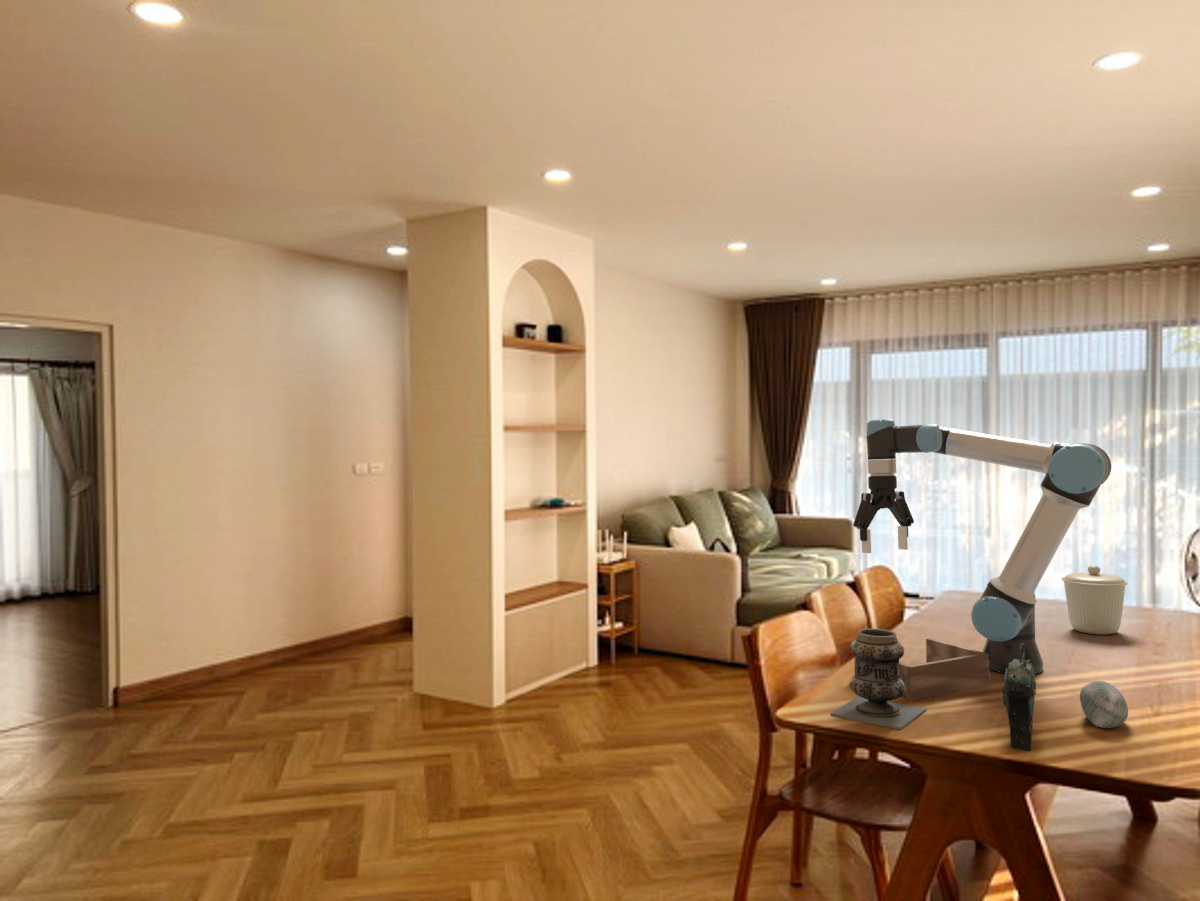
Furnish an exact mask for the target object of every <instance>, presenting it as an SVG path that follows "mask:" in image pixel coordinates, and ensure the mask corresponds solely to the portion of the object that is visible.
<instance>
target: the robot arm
mask: <svg viewBox="0 0 1200 901" xmlns="http://www.w3.org/2000/svg"><path fill="white" fill-rule="evenodd" d="M865 438H866V448H867V449H866V450H867V452H866V453H867V473H868V475H869V476H868V479H867V480H868V482H867V483H868V489H869V490H870V492H862V493H861V495H860V496H861V497H860V499H861V500H860V504H859V506H858V510H857V512H856V516H855V518H854V521H853V524H852V525H853V527H854V528H856V529H858V530H859V539H860V542H861V553H862V554H863V553H864V554H872V536H871V534H872V533H871V529H870V528H869V527H870V525H871V523H872V522H873V520H874V518H875V517H876V514H877V513H878V512H879V511H880V510H882V509H888V510H889V511H890V512H891V514H892V515H893V517H894V518H895V519H896V521H897V523H898V524H899V525H897V546H898V550H903V551H904V550H905V551H906V550H908V549H909V547H908V545H909V544H908V538H909V527H911V526H912V524H914V523H915V519H914V517H913V515H912V512H911V511H910V508H909V506H908V503H907V501H906V497H905V492H904V491H901V490H899V491H897V490H896V489H897V487H898V482H897V479H898V478H897V476H896V475H895V474H896V473H897V456H896V454H904V453H905V454H907V453H908V454H911V453H912V454H913V453H915V454H916V453H925V454H926V453H927V454H928V453H935V454H940V455H947V456H950V457H951V456H953V457H957V458H963V459H967V460H972V461H973V460H974V461H978V462H984V463H989V464H995V465H998V466H999V465H1000V466H1005V467H1011V468H1016V469H1021V470H1026V471H1032V472H1037V473H1042V474H1045V475H1044V478H1043V479H1042V481H1041V482H1040V488H1041V491H1042V496H1041V498H1040V500H1038V503H1037V505H1036V507H1035V509H1034V511H1033V513H1032V514H1031V516H1030V518H1029V520H1028V522H1027V524H1026V526H1025V527H1024V530H1023V532H1022V533H1021V535H1020V537H1019V539H1018V541H1017V543H1016V545H1015V546H1014V549H1013V550H1012V552H1011V554H1010V556H1009V558H1008V560H1007V561H1006V564H1005V565H1004V567H1003V569H1002V571H1001V573H1000V575H999V576H998V577H993V578H990V579H989V581H988V582H987V584H986V587H985V589H984V590H983V592H982V594H981V597H980V598H979V599H978V600H976V602H974V604H973V606H972V609H971V614H970V616H971V618H970V619H971V622H972V625H973V626H974V629H975V630H976V632H978V633H979V635H980V636H982V637H984V639H986V640H985V643H984V647H983V649H982V652H984V653H988V654H989V671H992V672H997V673H1003V674H1005V671H1006V668H1007V669H1008V665H1009V663H1010V662H1012V661H1013V660H1014V659H1018V660H1019V647H1020V644H1021V643H1024V646H1023V648H1022V651H1021V660H1022V655H1023V653H1025V655H1026V657H1025V660H1031V659H1032V661H1031V665H1032V666H1033V668H1034V675H1036V674H1040V673H1042V672H1044V661H1043V658H1042V656H1041V653H1040V650H1039V647H1038V644H1037V642H1036V604H1037V599H1036V594H1035V591H1036V589H1037V587H1038V585H1039V583H1040V582H1041V579H1042V578H1043V576H1044V575H1045V573H1046V570H1047V569H1048V567H1049V565H1050V564H1051V561H1052V560H1053V559H1054V557H1055V555H1056V553H1057V551H1058V549H1059V548H1060V546H1061V543H1062V542H1063V540H1064V538H1065V536H1066V534H1067V533H1068V530H1069V528H1070V527H1071V526H1072V523H1073V521H1074V520H1075V519H1076V516H1077V514H1078V513H1079V511H1080V510H1081V509H1084V508H1088V507H1090V505H1091V503H1092V501H1093V500H1094V498H1095V496H1096V494H1097V493H1098V491H1099V489H1100V487H1101V485H1103V484H1105V482H1106V481H1107V480H1108V478H1109V476H1110V475H1111V471H1112V463H1111V459H1110V456H1109V455H1108V454H1107V452H1106V451H1105V450H1104V449H1102V448H1101V447H1099V446H1098V445H1095V444H1091V443H1081V442H1078V443H1076V442H1075V443H1067V442H1060V441H1059V442H1058V441H1055V442H1053V443H1052V444H1047V443H1042V442H1034V441H1030V440H1025V439H1024V440H1023V439H1016V438H1011V437H1005V436H999V435H998V436H997V435H993V434H987V433H982V432H974V431H969V430H962V429H956V428H950V427H944V426H940V425H938V424H936V423H935V424H933V423H932V424H930V423H924V424H910V425H896V424H895V420H894V419H872V420H869V421H868V422H867V423H866V436H865ZM868 528H869V529H868Z"/></svg>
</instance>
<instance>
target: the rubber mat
mask: <svg viewBox="0 0 1200 901" xmlns="http://www.w3.org/2000/svg"><path fill="white" fill-rule="evenodd" d="M865 701H868V700H867V699H865V698H862V697H860V696H858V695H857V697H854V698H853V699H851V700H850V701H848V702H846V703H845V704H843V705H841V706H839V707H837V709H834V710H833V711H832V712H830V716H831V715H833V716H832V717H836V716H837V718H841V717H842V718H841V719H845V720H846V719H847V720H852V721H856V722H861V723H866V724H870V725H874V726H875V725H877V726H879V727H885V728H888V729H889V728H890V729H895V730H902V729H904V728H906V727H907V726H908V725H909V724H911V723H912V722H914V721H915V720H916V719H917V718H919V717H920V716H921V715H923V714H924V713H925V712H927V708H925V707H919V706H915V705H909V704H905V703H904V704H903V703H898V702H892V701H887V702H889V703H891V704H893V705H895V706H897V707H898V708H899V709H900V710H901V713H900V714H898V715H896V716H892V717H874V716H868V715H864V714H861V713H859V712H857V711H856V709H855V707H856V706H857V705H858V704H860V703H863V702H865Z"/></svg>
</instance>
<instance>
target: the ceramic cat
mask: <svg viewBox="0 0 1200 901" xmlns="http://www.w3.org/2000/svg"><path fill="white" fill-rule="evenodd" d="M1023 646H1024V643H1021V644H1020V647H1019V660H1018V659H1014V660H1013V661H1012V662H1010V663H1009V665H1008V669H1007V668H1006V671H1005V673H1004V680H1003V685H1002V690H1001V692H1002V701H1003V702H1002V703H1003V706H1005V708H1006V713H1007V718H1008V723H1009V724H1008V725H1009V726H1008V727H1009V737H1010V740H1009V741H1010V745H1011V748H1012V749H1016V750H1022V751H1027V752H1028V751H1029V752H1030V751H1031V749H1032V743H1033V720H1034V719H1033V718H1034V717H1033V716H1034V706H1035V696H1036V695H1037V692H1036V691H1037V680H1036V674H1034V668H1033V666H1032V665H1031V661H1032V659H1031V660H1025V657H1026V655H1025V653H1023V655H1022V660H1021V651H1022V648H1023Z"/></svg>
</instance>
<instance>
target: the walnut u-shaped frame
mask: <svg viewBox="0 0 1200 901" xmlns="http://www.w3.org/2000/svg"><path fill="white" fill-rule="evenodd" d="M925 652H926V653H925V654H926V658H925V659H926V662H925V663H918V664H912V665H909V664H906V663H905V662H904V663H903V662H900V661H899V676H900V679H901V680H902V681H903V682H904V684H905V692H904V694H903V695H902V696H900V697H899V698H902V697H903V698H902V699H904V698H905V700H907V699H908V700H907V701H910V702H912V700H913V701H917V700H922V699H928V698H933V696H934V697H937V696H938V695H939V696H943V694H944V695H949V694H953V693H959V692H964V691H968V690H969V691H970V690H972V689H978V688H982V687H988V686H989V687H990V670H989V654H988V653H984V652H983V651H980V650H976V649H971V648H968V647H965V646H961V645H957V644H953V643H949V642H945V641H941V640H937V639H933V638H930V637H928V638H926V639H925ZM853 657H854V659H853V660H854V669H855V668H856V657H855V655H853ZM939 696H938V697H939Z"/></svg>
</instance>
